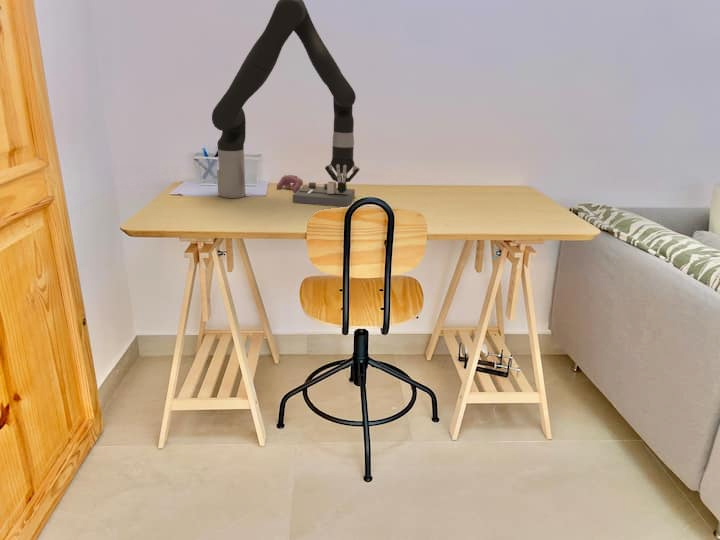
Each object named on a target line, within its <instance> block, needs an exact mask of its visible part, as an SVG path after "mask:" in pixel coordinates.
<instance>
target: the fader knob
mask: <svg viewBox="0 0 720 540" xmlns="http://www.w3.org/2000/svg"><path fill="white" fill-rule="evenodd" d="M326 184H327V194H334V193H335V192H336V188H337V181H334V180H333V181H332V180H331V181H328V182H327V183H326Z"/></svg>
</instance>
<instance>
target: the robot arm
mask: <svg viewBox="0 0 720 540" xmlns="http://www.w3.org/2000/svg"><path fill="white" fill-rule="evenodd" d="M293 32H295V34H296V36H297V37H298V38H299V40H300V42H301V43H302V45H303V47H304V49H305V52H306V53H307V56H308V59H309V60H310V63H311V65H312V66H313V68H314V70H315V72H316V73H317V74H318V76H319V78H320V79H321V81H322V82H323V83H324V85H326V86H327V89H328V90H329V92H330V93H331V95H332V96H333V98H332V100H333V113H334V114H333V132H332V133H333V134H332V148H331V149H332V154H331V155H332V156H331V161H330V163H329V164H328V165H326V166H325V167H324V169H325V171H326V172H327V174H328V175H329V176H330V178H331V179H332V180H333V181H334V182H336V183H337V188H338V191H339V193H344V192H345V190H346V185H347V183H350V182H351V181H352V180H353V178H354V177H355V176H356V175H357V173H359V171H360V168H359V167H357V166H356V165H355V161H354V145H355V139H354V138H355V137H354V128H355V127H354V124H355V121H354V117H353V105H354V104H355V102H356V98H357V96H356V92H355V91H354V89H353V87H352V85H350V82H349V81H348V79H346V78H345V76H344V75H343V73H342V71H341V68H340V67H339V66H338V64H337V62H336V61H335V59H334V58H333V55H332V54H331V52H329V50H328V48H327V46H326V44H325V43H324V41H323V40H322V38H321V37H320V35H319V33H318V30H317V29H316V27H315V25H314V23H313V21H312V18H311V16H310V13H309V12H308V9H307V6H306V4H305V2H304V0H278V1H277V2H276V4H275V7H274V9H273V12H272V14H271V16H270V19H269V20H268V23H267V25H266V27H265V28H264V30H263V32H262V34H261V35H260V36H259V38H258V39H257V40H256V42H255V43H254V44H253V45H252V47H251V49H250V51H249V52H248V54H247V55H246V56H245V59H244V60H243V62H242V64H241V66H240V68H239V69H238V71H237V72H236V75H235V76H234V79H232V82H231V84H230V85H229V87H228V89H227V91H226V92H225V93H224V95H223V96H222V98H221V99H220V100H219V102H218V103H216V105H215V107H214V108H213V110H212V112H211V122H212V124H213V126H214V128H216V129H217V130H219V131H221V132H222V133H221V136H220V138H219V139H218V141H217V156H218V157H217V158H218V169H217V170H216V179H217V180H216V181H217V193H218V194H217V197H222V198H224V199H226V198H228V199H238V198H239V199H240V198H243V197H245V196H246V179H245V178H246V174H245V173H246V172H245V171H246V170H245V169H246V168H245V151H244V150H245V145H244V144H245V142H246V134H247V133H246V129H247V127H246V115H245V111H244V109H243V107H244V105H245V104H246V102H247V101H248V100H249V99H251V97H252V96H253V95H254V94H255V93H256V92H257V91H258V90H260V88H261V87H262V86H263V85H264V84H265V82H266V81H267V80H268V78H269V77H270V75H271V73H272V72H273V69H274V68H275V67H276V66H275V65H276V64H277V61H278V60H279V56H280V53H281V51H282V48H283V46H284V45H285V43H286V42H287V40H288V39H289V38H290V36H291V35H292V34H293ZM333 170H334V171H333ZM351 170H352V173H351V174H350V175H349V177H348V173H349V172H350V171H351ZM335 172H336V173H335Z"/></svg>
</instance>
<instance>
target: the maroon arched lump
mask: <svg viewBox="0 0 720 540" xmlns="http://www.w3.org/2000/svg"><path fill="white" fill-rule="evenodd" d="M303 184H304V182H303V179H301V178H300V177H298V176H297V175H293V174H288V175H287V174H284V175H283V176H282V177H281V178H280V180H279V182H277V184H276V189H277V190H281V189H282V188H283V187H284V188H285V189H286V190H290V189H291V190H292V192H293V194H295V193H296V192H297V191H298V190H299V189H300V188H302V187H303Z"/></svg>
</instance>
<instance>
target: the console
mask: <svg viewBox="0 0 720 540" xmlns="http://www.w3.org/2000/svg"><path fill="white" fill-rule="evenodd" d="M327 184H328V183H324V185H323V186H321V185H320V186H317V183H316V182H308V185H302V186H301V187H300V189H299V190H298V191H297V192H296V193H293V194H292V203H295V204H306V205H316V204H319V205H320V206H329V205H333V206H332V207H341V206H347V207H348V206H350V203H351V202H352V201H353V199H355V195H356V194H355V193H356V189H355V188H347V187H348V186H347V184H346V190H345V192H344V193H339V191H338V187H336V192H335V193H334V194H327Z"/></svg>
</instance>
